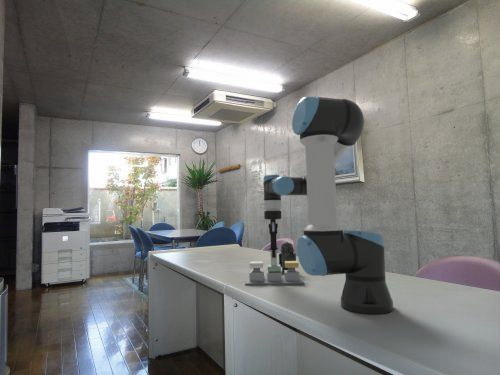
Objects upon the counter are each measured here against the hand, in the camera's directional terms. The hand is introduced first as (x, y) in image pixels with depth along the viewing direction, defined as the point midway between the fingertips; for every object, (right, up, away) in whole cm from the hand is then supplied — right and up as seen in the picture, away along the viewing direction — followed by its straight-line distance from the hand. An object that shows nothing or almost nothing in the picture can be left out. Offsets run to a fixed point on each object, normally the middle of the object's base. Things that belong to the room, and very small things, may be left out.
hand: (273, 264), depth 138 cm
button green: (0, -5, -1) cm, 5 cm away
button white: (-7, -4, 0) cm, 8 cm away
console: (0, -7, -1) cm, 7 cm away
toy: (+8, -8, +17) cm, 20 cm away
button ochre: (+8, -4, -1) cm, 8 cm away
